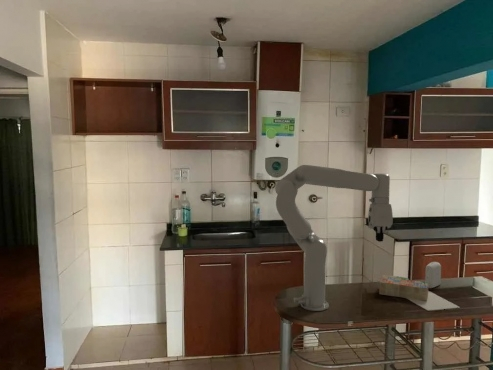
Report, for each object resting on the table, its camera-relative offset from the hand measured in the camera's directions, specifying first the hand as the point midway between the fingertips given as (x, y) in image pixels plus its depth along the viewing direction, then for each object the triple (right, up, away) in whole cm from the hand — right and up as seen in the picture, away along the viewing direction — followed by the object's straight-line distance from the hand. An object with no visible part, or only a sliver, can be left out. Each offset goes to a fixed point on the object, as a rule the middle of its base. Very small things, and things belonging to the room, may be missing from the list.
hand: (379, 240), depth 171 cm
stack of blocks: (+13, -25, +7) cm, 29 cm away
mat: (+24, -29, +7) cm, 38 cm away
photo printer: (+37, -27, +25) cm, 52 cm away
